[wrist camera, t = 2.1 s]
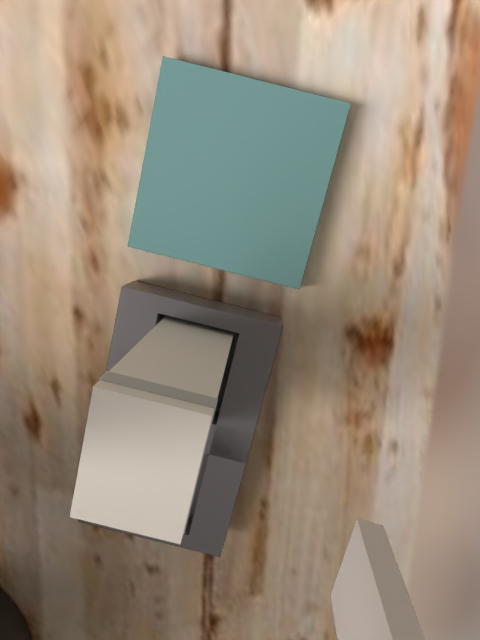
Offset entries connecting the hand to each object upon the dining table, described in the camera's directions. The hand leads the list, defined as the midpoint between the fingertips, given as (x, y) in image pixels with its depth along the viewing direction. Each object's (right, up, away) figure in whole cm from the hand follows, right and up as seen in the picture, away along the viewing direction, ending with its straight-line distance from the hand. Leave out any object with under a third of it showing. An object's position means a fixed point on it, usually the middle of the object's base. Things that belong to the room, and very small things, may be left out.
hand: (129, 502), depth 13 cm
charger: (0, +3, +14) cm, 14 cm away
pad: (+3, +13, +12) cm, 18 cm away
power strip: (-1, -1, +15) cm, 15 cm away
